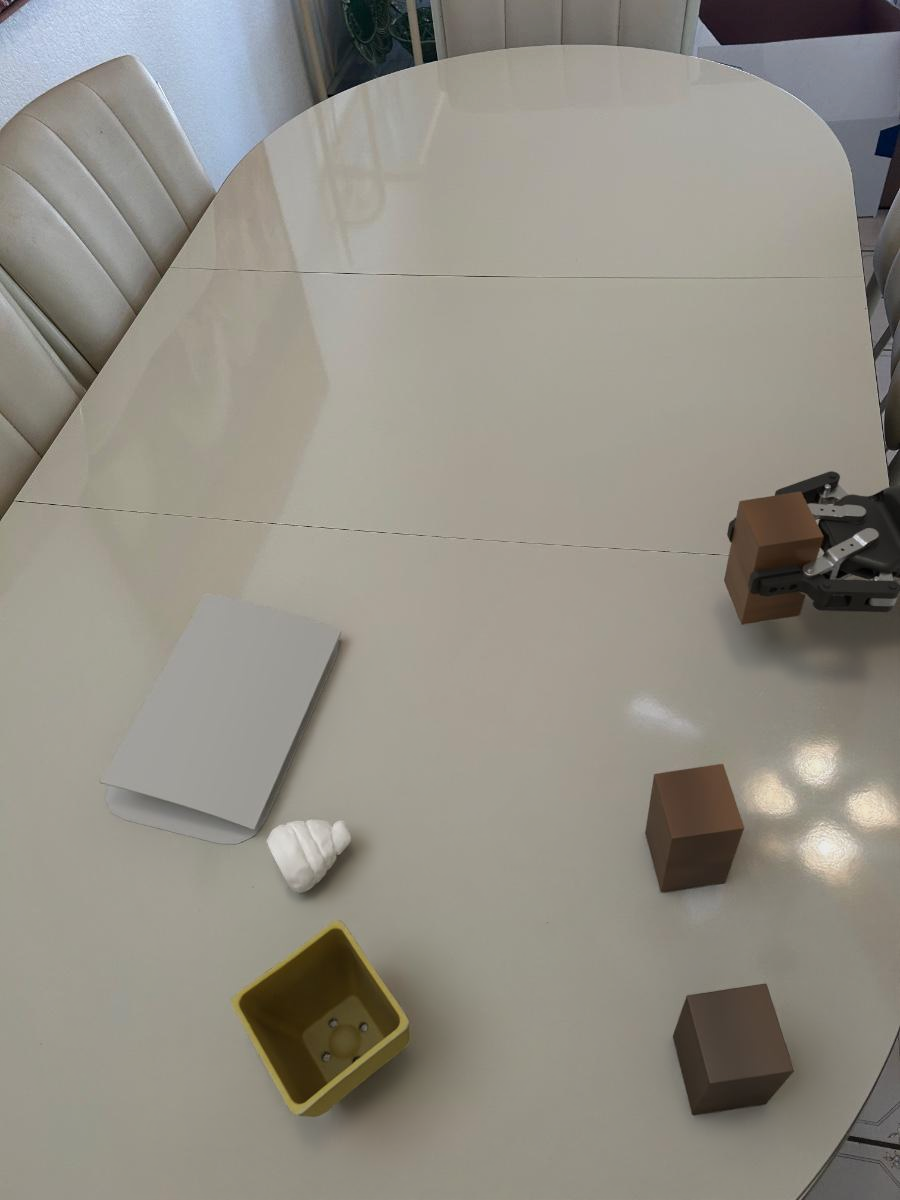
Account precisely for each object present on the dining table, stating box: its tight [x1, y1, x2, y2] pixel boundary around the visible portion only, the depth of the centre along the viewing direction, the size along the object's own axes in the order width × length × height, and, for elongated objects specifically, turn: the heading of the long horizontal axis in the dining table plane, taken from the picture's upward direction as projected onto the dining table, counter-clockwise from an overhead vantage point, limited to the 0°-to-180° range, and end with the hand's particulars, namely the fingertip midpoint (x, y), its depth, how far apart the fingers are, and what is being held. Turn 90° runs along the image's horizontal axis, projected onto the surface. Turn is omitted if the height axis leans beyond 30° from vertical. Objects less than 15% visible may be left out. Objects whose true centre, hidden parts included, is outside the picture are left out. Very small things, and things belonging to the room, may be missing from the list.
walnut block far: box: [723, 492, 823, 626], centre depth 77 cm, size 5×5×10 cm
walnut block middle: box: [644, 763, 745, 894], centre depth 69 cm, size 5×5×10 cm
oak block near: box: [672, 983, 795, 1116], centre depth 60 cm, size 5×5×10 cm
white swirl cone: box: [266, 818, 352, 894], centre depth 74 cm, size 6×6×5 cm
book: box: [99, 592, 342, 845], centre depth 84 cm, size 15×23×4 cm, turn 163°
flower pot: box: [230, 919, 411, 1118], centre depth 63 cm, size 9×9×9 cm
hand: (740, 557), depth 76 cm, fingers closed on walnut block far, 5 cm apart
